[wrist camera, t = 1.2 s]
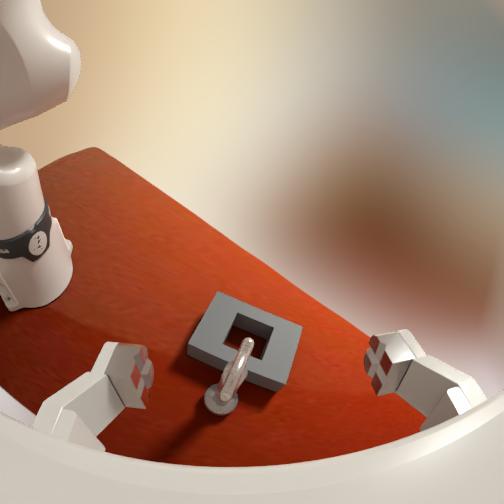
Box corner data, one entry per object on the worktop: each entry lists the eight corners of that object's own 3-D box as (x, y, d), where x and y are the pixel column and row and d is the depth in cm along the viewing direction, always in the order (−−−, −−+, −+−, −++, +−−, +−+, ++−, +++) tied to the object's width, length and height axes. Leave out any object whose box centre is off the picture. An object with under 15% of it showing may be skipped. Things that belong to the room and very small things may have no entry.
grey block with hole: (187, 354, 37) (187, 343, 34) (214, 305, 44) (217, 291, 42) (276, 392, 36) (285, 384, 33) (293, 338, 43) (302, 326, 40)
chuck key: (194, 416, 31) (200, 389, 21) (215, 373, 36) (230, 327, 26) (225, 429, 31) (247, 409, 21) (243, 386, 36) (272, 344, 26)
